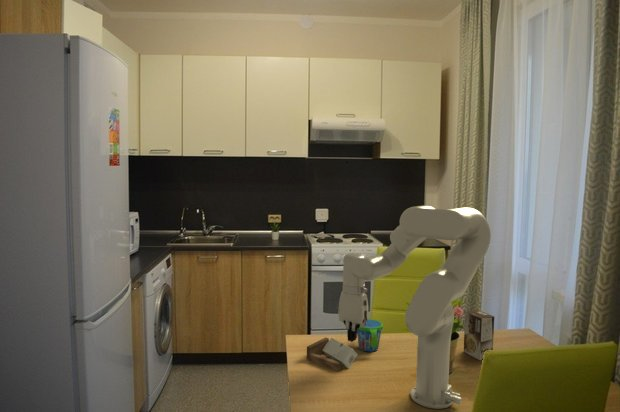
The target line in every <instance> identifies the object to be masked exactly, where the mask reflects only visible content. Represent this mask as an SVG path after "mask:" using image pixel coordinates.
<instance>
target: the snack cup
mask: <svg viewBox="0 0 620 412" xmlns="http://www.w3.org/2000/svg"><path fill="white" fill-rule="evenodd" d="M366 325H367V326H366V327H360V328H359V329H357V343H358V348H359V349H360V350H361V351H365V352H370V353H373V352H376V351H377V350H379V347H380V339H381V336H382V330H383V328H384V326H383V325H384V324H383V322H382V321H380V320H377V319H372V318H368V321H366Z"/></svg>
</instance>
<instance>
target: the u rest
mask: <svg viewBox="0 0 620 412" xmlns="http://www.w3.org/2000/svg"><path fill="white" fill-rule="evenodd" d="M329 340H330V339H329V337H324V338H322V339H319V340H318V341H316V342H313V343H311V344H310V345H307V346H306V361H308V362H311V363H314V364H317V365H320V366H322V367H325V368H328V369H331V370H333V371H335V372H336V371H337V372H340V371H341V370H342V364H341V362H338V361H335V360H333V359H331V358H330V357H329V358H328V357H326V356H323V355H324V354H325V353H324V352H323V351H322V350H323V349H324V347H325V346H326V344H327V343H328V342H329ZM355 361H357V357H356V358H355V360H354V361H353V363H354V362H355Z"/></svg>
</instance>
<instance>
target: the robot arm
mask: <svg viewBox="0 0 620 412" xmlns="http://www.w3.org/2000/svg"><path fill="white" fill-rule="evenodd" d="M491 233H492V232H491V228H490V225H489V223H488V221H487V219H486V217H485V216H484V215H483V214H482V212H481V211H479V210H477V209H475V208H473V207H466V206H465V207H457V208H450V209H448V208H446V209H445V208H434V207H433V206H430V205H417V206H411V207H409V208H406V209H405V210H403V212H402V214H401V215H400V218H399V225H398V226H397V227H396V228H395V229H394V230H392V231H391V233H390V235H389V240H390V242H391V243H390V245H389V246H388V247H386V248H385V249H384V250H383V251H382V252H381V253H379V254H378V255H377V254H376V255H373V256H368V257H365V255H364V254H362V253H354V252H351V253H350V252H349V253H346V254H344V256H343V262H342V263H343V264H342V266H343V269H342V270H343V271H342V273H343V274H342V291H341V293H340V297H339V299H338V300H339V302H338V321H339V322H341V323H342V324H344V326H345V329H346V330H347V331H346V333H347V334H346V335H347V336H346V337H347V341H348V342H351V343H352V342H354V341H356V340H357V339H358V336H357V329H359V328H360V327H366V326H367V325H366V321H368V319H369V302H368V295H367V294H366V293H368V288H366V285H365V282H366V281H373V280H374V281H375V280H377V279H380V278H383V277H386V276H388V275H390V274H391V273H393V272H394V271H396V269H397V268H399V267H400V266H401V265H402V264H403V263H404V262H405V261H406V260H407V258H408V257H409V256H410V255H411V253H412V252H413V251H414V250H415V249H416V248H418V246H419V245H420V244H422V243H423V242H425V241H426V239H433V240H441V241H442V240H443V241H456V240H457V241H456V244H455V245H454V246H453V247H452V249H451V251H450V252H449V255H448V256H447V258H446V260H445V262H444V263H443V265H442V266H441V267H440V268H438V270H436V271H432V272H430V273H428V274H427V275H425V276H424V278H422V280H421V282H420V284H419V285H418V287H417V289H416V290H415V293H414V295H413V296H412V299H411V301H410V302H409V304H408V307H407V309H406V312H405V316H404V322H405V325H406V327H407V330H409V332H410V333H411V334H412V335H415V336H417V347H416V348H417V349H416V351H417V352H416V371H415V373H416V374H415V375H416V376H415V377H416V378H415V386H414V387H412V389H410V393H409V395H410V398H411V399H412V400H413V401H414V402H415V403H416V404H417V405H420V406H421V407H425V408H429V409H435V410H440V409H447V408H449V407H451V406H452V405H453V404H454V403H455V404H458V405H462V401H463V398H462V397H461V393H460V392H459V393H458V392H455V391H453V389H452V385H451V384H449V382H450V381H449V379H450V377H449V376H450V373H449V372H450V356H451V353H450V352H451V340H452V331H453V326H454V321H455V310H454V306H453V304H452V303H453V302H455V301H457V300H459V299H460V298H462V297H463V295H465V293H466V291H467V289H468V287H469V285H470V283H471V282H472V280H473V278H474V276H475V274H476V272H477V271H478V269H479V267H480V265H481V264H482V262H483V259H484V258H485V256H486V254H487V252H488V250H489V247H490V244H491V243H490V242H491Z"/></svg>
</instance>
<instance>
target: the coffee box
mask: <svg viewBox="0 0 620 412" xmlns="http://www.w3.org/2000/svg"><path fill="white" fill-rule="evenodd" d="M494 333H495V315H492V314H489V313H487V312H484V311H482V310H479V309H473V310H466V311H464V330H463V353H465V354H467V355H469V356H471V357H473V358H475V359H476V360H479V361H483V360H482V359H483V355H484V352H485V351H486V350H494V335H495V334H494Z"/></svg>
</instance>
